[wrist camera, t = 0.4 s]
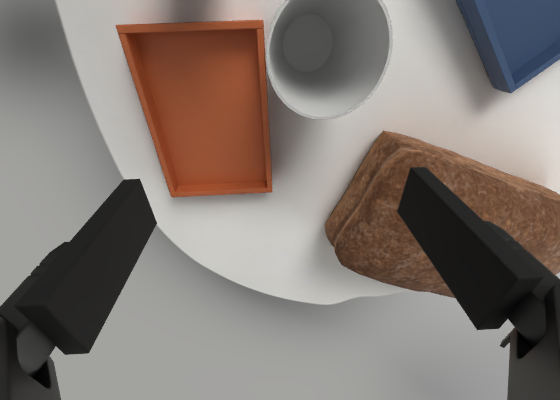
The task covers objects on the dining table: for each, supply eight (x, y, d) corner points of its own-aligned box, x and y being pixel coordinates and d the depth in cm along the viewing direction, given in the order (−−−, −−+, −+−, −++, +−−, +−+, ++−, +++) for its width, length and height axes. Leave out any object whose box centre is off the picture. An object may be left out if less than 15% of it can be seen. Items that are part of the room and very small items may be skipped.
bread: (378, 118, 29) (431, 165, 20) (557, 188, 36) (660, 247, 27) (315, 227, 38) (332, 295, 29) (469, 266, 45) (523, 331, 36)
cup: (284, -29, 22) (295, -57, 14) (366, 14, 24) (419, 12, 16) (254, 71, 26) (249, 95, 18) (326, 100, 28) (351, 134, 20)
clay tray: (127, 24, 23) (114, 24, 21) (263, 19, 24) (263, 19, 22) (176, 186, 33) (171, 197, 31) (272, 182, 33) (272, 192, 31)
